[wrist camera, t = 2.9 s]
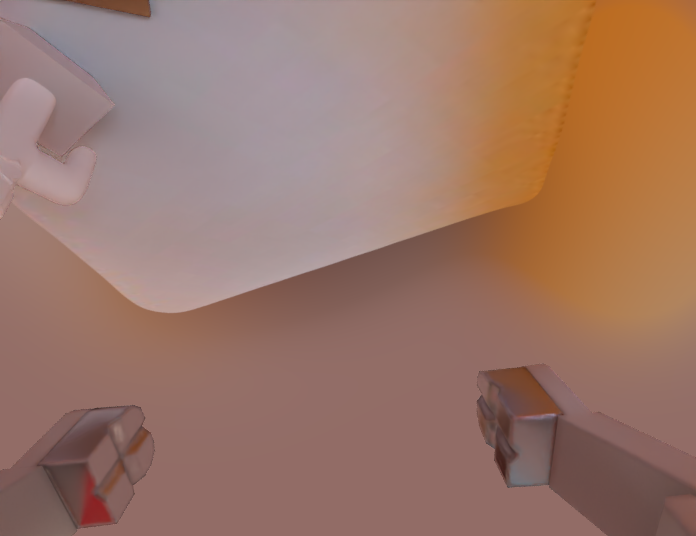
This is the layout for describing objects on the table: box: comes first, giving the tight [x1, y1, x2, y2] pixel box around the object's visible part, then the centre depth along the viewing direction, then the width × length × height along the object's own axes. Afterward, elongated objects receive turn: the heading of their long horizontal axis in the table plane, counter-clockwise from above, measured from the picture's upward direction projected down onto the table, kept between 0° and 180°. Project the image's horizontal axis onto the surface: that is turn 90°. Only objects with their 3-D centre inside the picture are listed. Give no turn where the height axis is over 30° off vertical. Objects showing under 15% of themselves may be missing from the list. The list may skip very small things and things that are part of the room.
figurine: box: [0, 18, 115, 219], centre depth 23 cm, size 7×9×15 cm
